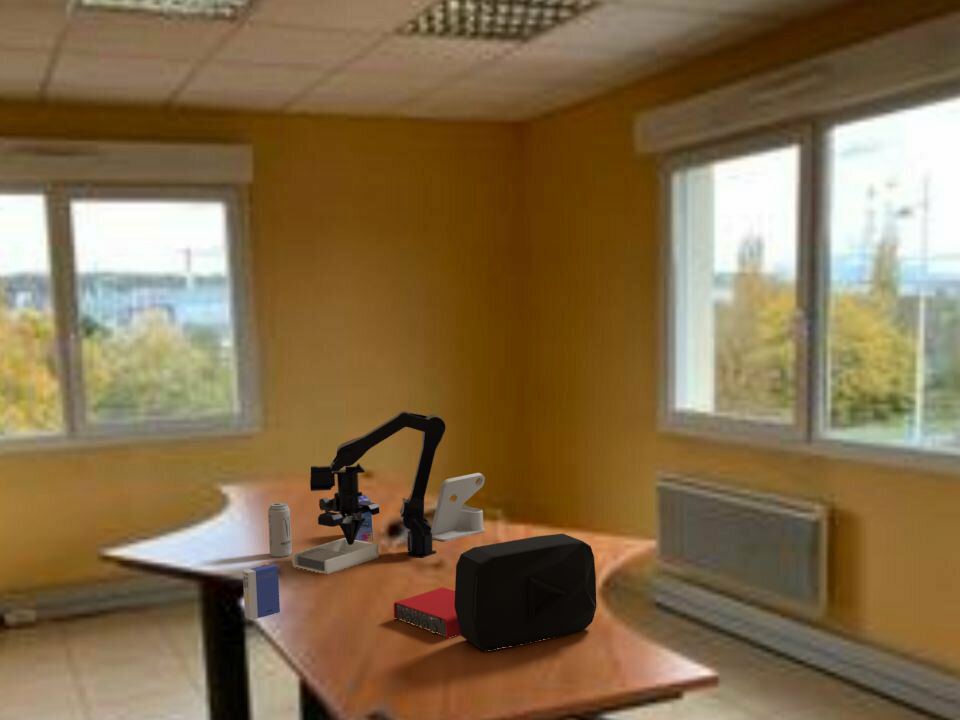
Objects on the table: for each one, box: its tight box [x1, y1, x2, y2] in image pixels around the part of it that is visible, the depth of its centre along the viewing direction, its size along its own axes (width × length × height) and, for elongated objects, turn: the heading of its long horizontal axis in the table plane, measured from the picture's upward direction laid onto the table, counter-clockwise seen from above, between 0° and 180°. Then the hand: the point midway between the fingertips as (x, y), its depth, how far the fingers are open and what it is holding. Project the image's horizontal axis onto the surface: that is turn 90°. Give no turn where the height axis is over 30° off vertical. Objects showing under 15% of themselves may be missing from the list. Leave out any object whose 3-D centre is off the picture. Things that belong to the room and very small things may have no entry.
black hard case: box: [454, 533, 598, 652], centre depth 208 cm, size 30×12×20 cm, turn 118°
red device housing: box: [393, 586, 461, 639], centre depth 220 cm, size 18×14×5 cm
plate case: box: [291, 537, 379, 575], centre depth 269 cm, size 13×20×4 cm
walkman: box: [242, 562, 281, 621], centre depth 226 cm, size 8×3×12 cm, turn 133°
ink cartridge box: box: [355, 493, 374, 542], centre depth 295 cm, size 10×6×14 cm, turn 19°
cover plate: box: [298, 548, 347, 571], centre depth 265 cm, size 10×9×2 cm
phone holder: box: [431, 472, 486, 542], centre depth 297 cm, size 17×10×18 cm, turn 133°
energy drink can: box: [267, 501, 293, 558], centre depth 277 cm, size 6×6×15 cm
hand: (350, 544), depth 273 cm, fingers closed
